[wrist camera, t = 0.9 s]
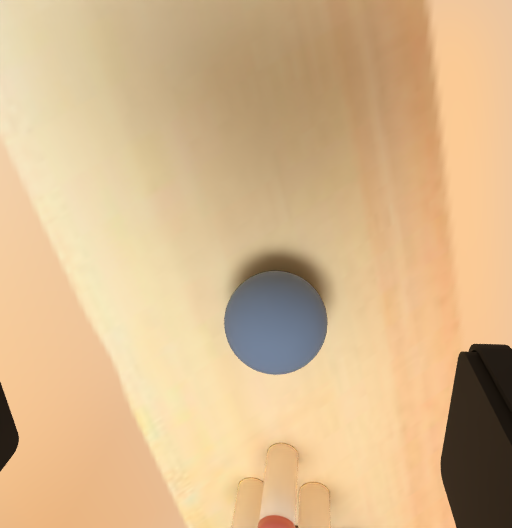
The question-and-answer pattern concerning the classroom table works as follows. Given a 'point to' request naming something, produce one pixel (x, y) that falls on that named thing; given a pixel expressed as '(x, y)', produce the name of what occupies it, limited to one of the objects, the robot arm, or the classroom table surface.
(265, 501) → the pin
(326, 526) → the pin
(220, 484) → the classroom table surface
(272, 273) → the ball
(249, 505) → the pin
